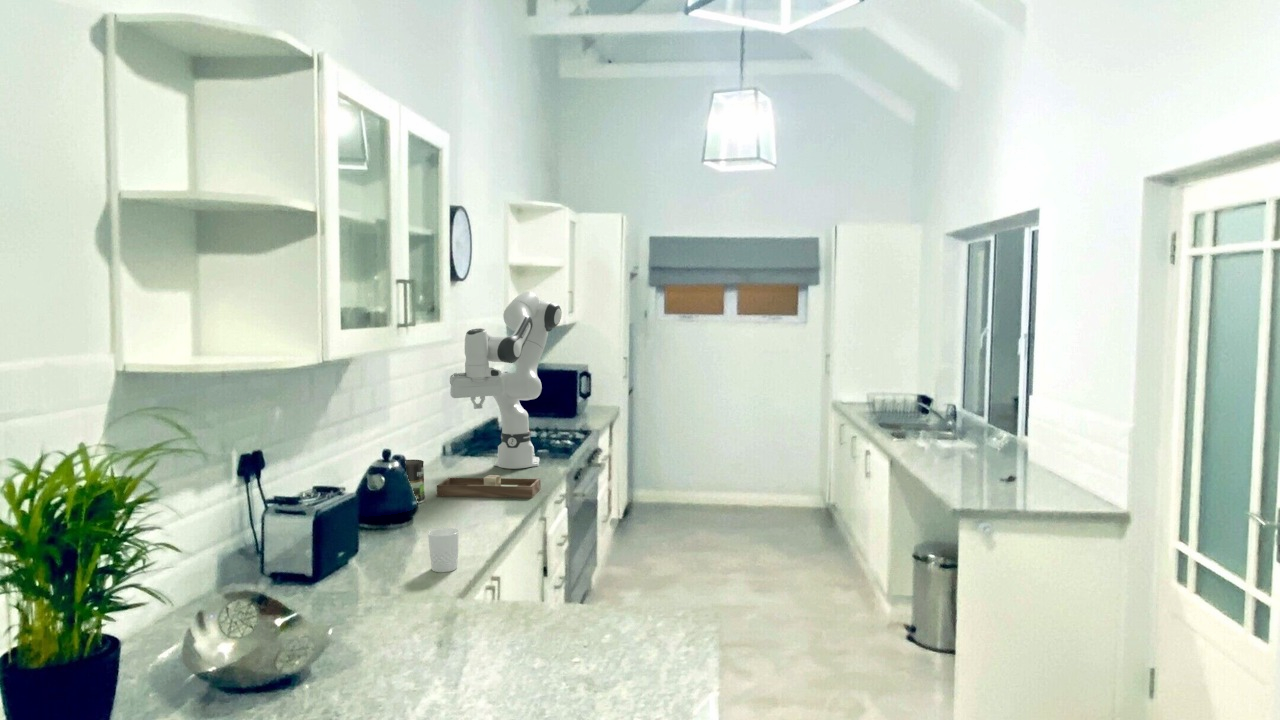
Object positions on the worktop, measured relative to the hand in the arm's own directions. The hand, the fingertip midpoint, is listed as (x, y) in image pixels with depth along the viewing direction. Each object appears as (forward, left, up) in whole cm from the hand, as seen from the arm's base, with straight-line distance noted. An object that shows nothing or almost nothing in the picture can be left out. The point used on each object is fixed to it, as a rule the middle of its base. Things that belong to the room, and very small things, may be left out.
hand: (478, 408), depth 332 cm
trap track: (+13, +8, -29) cm, 33 cm away
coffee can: (+28, -17, -29) cm, 44 cm away
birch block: (+15, +9, -27) cm, 33 cm away
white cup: (+99, +20, -29) cm, 105 cm away
